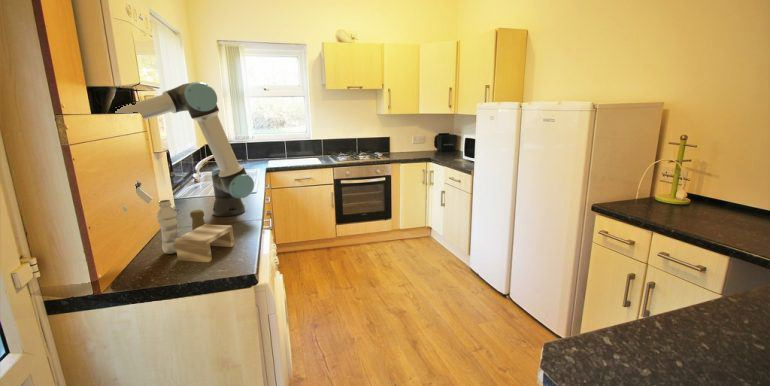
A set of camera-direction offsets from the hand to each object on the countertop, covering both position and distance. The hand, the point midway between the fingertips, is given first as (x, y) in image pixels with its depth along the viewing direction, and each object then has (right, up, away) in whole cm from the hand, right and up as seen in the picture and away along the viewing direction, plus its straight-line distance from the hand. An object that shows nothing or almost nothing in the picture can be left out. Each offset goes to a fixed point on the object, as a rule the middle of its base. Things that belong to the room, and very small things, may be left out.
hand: (138, 206), depth 130 cm
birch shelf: (+23, -17, +5) cm, 29 cm away
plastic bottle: (+10, -18, +5) cm, 21 cm away
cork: (+11, -13, +22) cm, 28 cm away
